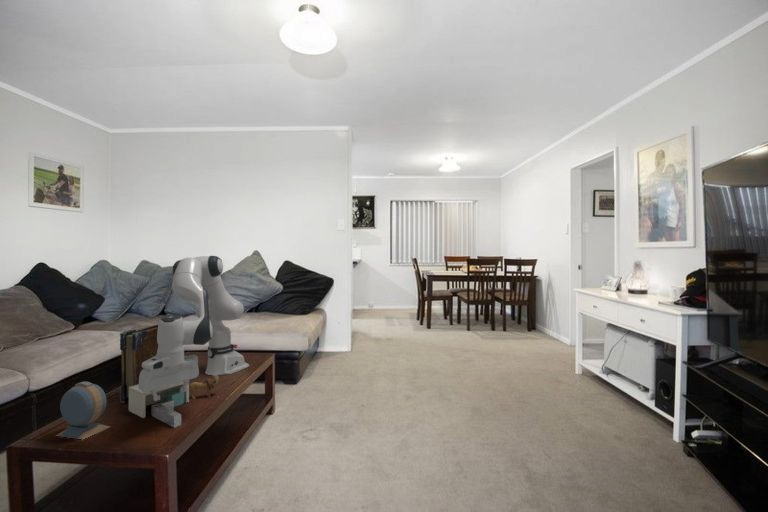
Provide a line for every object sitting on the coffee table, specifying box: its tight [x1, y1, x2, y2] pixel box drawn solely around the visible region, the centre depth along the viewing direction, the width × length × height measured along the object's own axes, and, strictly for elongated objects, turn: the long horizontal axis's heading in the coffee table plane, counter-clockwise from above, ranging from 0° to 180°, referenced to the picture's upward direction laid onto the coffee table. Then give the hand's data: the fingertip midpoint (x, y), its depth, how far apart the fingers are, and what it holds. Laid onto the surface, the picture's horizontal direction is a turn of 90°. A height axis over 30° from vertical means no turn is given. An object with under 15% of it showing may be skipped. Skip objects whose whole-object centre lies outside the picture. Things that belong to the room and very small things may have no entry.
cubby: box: [128, 381, 190, 419], centre depth 149 cm, size 18×12×10 cm, turn 147°
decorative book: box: [119, 324, 158, 404], centre depth 164 cm, size 23×7×30 cm, turn 177°
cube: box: [165, 390, 185, 408], centre depth 151 cm, size 5×5×5 cm
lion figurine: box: [189, 375, 220, 400], centre depth 159 cm, size 15×5×9 cm, turn 113°
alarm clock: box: [55, 381, 111, 441], centre depth 128 cm, size 14×10×18 cm
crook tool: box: [150, 399, 182, 428], centre depth 139 cm, size 8×18×4 cm, turn 56°
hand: (170, 396), depth 134 cm, fingers open, 8 cm apart
